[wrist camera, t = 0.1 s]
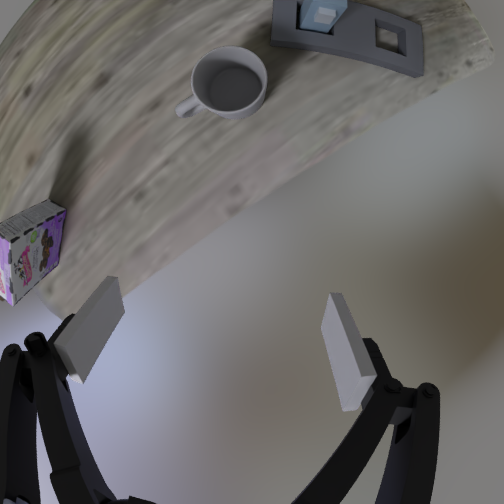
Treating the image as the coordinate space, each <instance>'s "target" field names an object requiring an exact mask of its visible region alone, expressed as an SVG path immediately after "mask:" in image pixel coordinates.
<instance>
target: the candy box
mask: <svg viewBox="0 0 504 504" xmlns="http://www.w3.org/2000/svg"><path fill="white" fill-rule="evenodd" d="M65 215H66V209H65V208H63V207H61V206H60V205H58V204H56V203H55V202H53V201H52V200H50V199H47V200H45V201H43V202H41V203H39V204H37V205H35V206H33V207H30V208H28V209H26V210H24V211H22V212H20V213H18V214H16V215H14V216H12V217H10V218H9V219H7V220H5V221H3V222H1V223H0V297H2V298H3V299H4V300H6V301H7V302H8V303H9V304H10V305H12V306H13V307H14V305H15V304H16V303H17V302H18V301H19V300H21V298H23V296H25V295H26V294H27V293H28V292H29V291H30V290H31V289H32V288H33V287H34V286H35V285H36V284H37V283H38V282H39V281H40V280H42V279H43V278H44V277H45V276H46V275H47V274H48V273H49V272H51V271H52V270H53V269H54V268H55V267H56V266H58V262H59V252H60V245H61V238H62V232H63V226H64V220H65Z"/></svg>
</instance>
